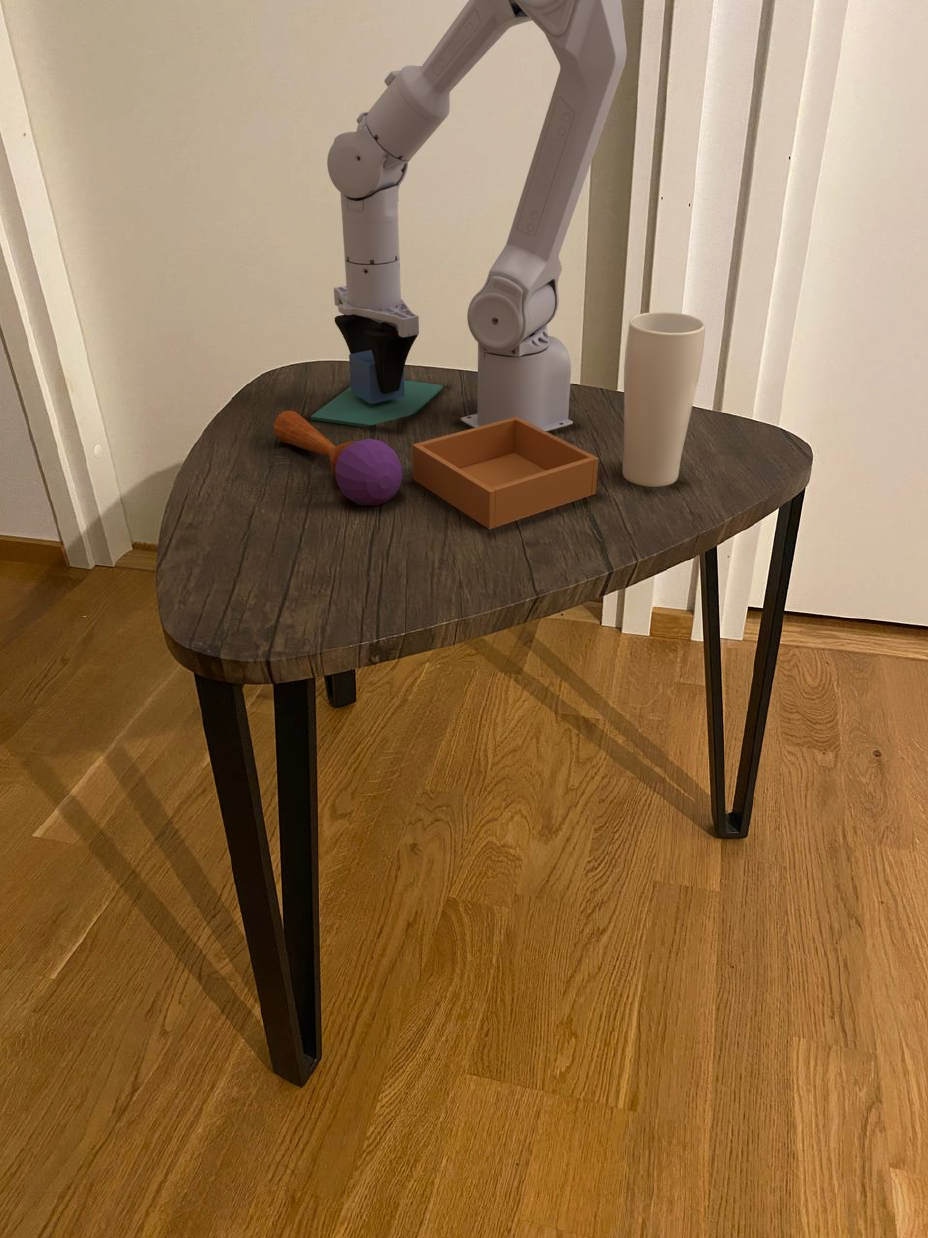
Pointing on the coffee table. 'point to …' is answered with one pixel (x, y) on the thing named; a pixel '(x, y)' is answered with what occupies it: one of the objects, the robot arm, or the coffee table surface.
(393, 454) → the maraca
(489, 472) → the bin
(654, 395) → the white vase
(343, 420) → the mat
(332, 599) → the coffee table surface
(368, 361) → the block
